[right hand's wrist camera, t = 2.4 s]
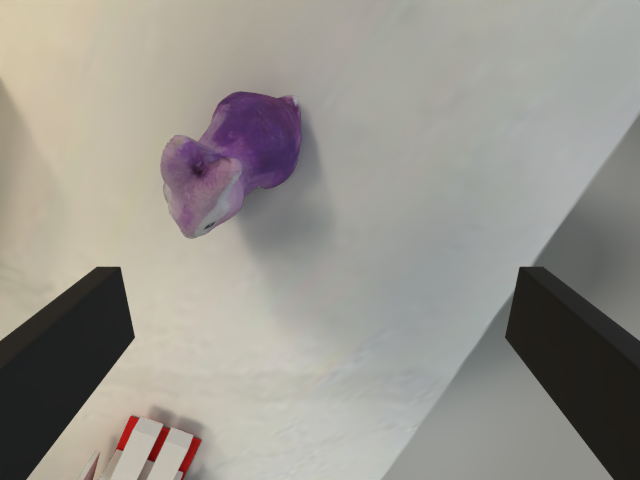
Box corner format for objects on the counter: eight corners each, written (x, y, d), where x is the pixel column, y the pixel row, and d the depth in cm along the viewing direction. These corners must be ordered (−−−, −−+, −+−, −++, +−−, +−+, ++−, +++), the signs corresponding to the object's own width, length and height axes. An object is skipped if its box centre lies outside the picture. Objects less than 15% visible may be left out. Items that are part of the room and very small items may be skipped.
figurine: (206, 202, 37) (138, 267, 23) (196, 91, 34) (107, 86, 20) (302, 204, 37) (292, 269, 23) (302, 92, 34) (290, 90, 20)
